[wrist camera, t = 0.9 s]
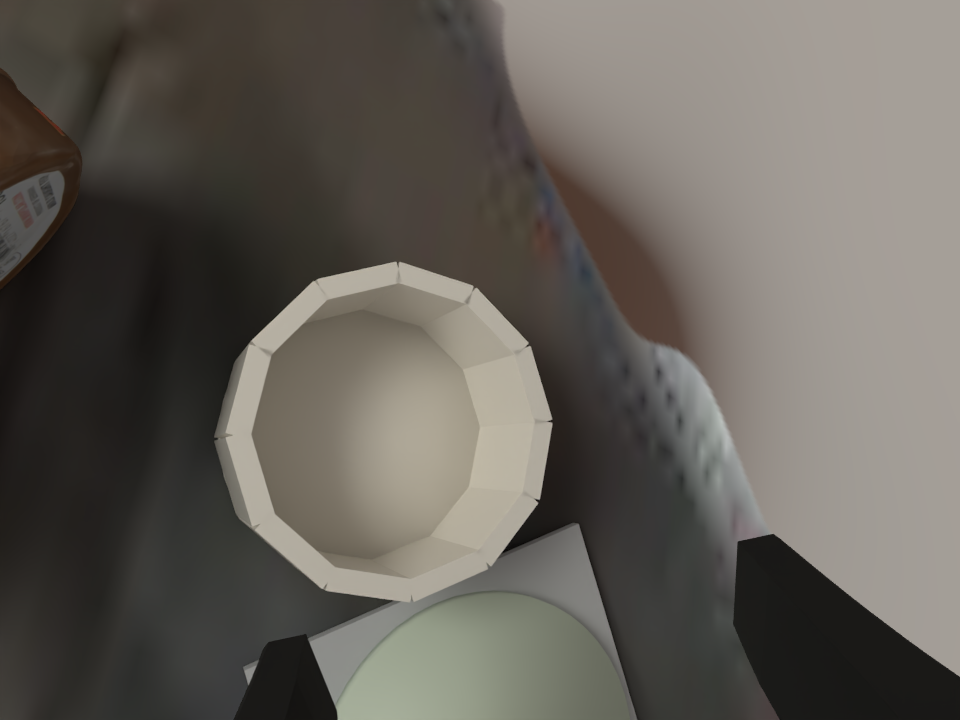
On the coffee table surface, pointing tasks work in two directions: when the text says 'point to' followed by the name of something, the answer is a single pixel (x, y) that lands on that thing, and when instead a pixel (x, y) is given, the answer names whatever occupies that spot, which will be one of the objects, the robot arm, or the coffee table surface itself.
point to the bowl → (386, 432)
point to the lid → (486, 666)
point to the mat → (524, 570)
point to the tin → (31, 179)
